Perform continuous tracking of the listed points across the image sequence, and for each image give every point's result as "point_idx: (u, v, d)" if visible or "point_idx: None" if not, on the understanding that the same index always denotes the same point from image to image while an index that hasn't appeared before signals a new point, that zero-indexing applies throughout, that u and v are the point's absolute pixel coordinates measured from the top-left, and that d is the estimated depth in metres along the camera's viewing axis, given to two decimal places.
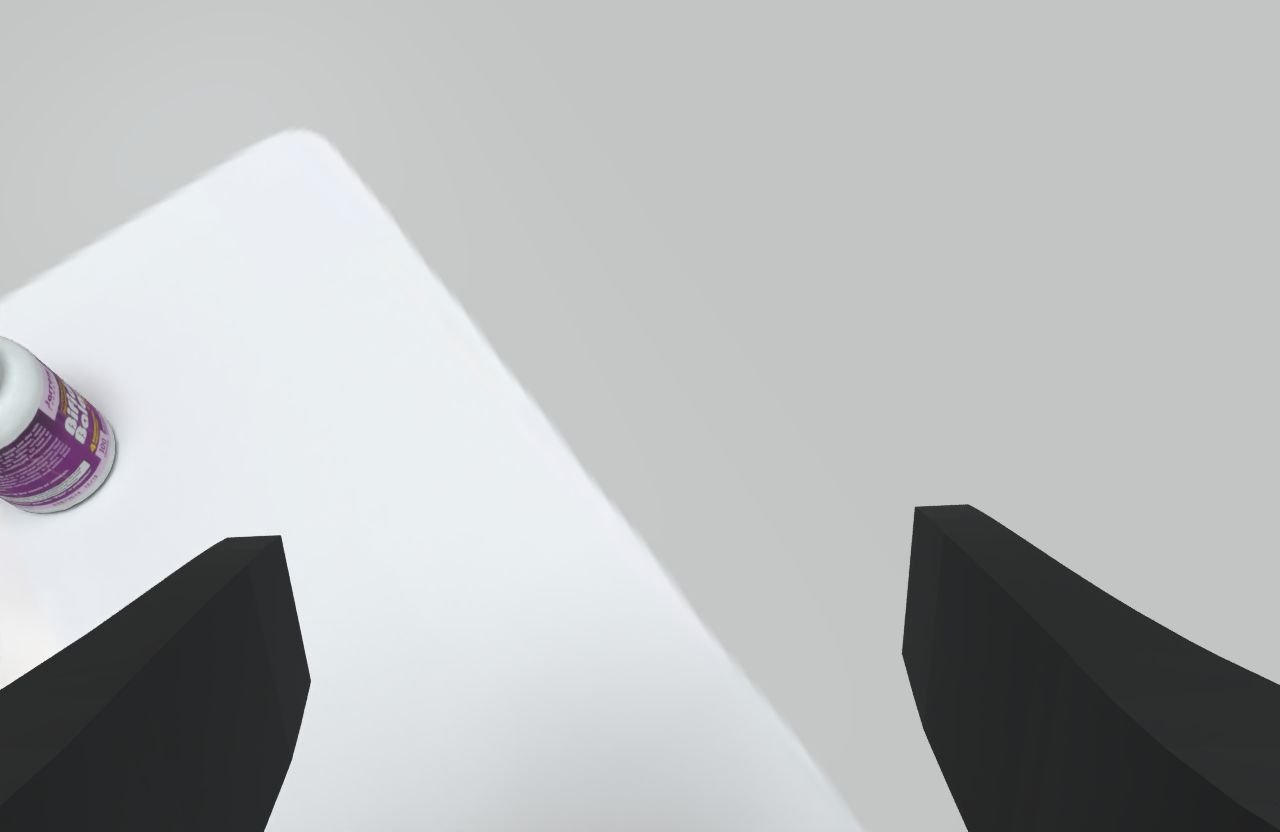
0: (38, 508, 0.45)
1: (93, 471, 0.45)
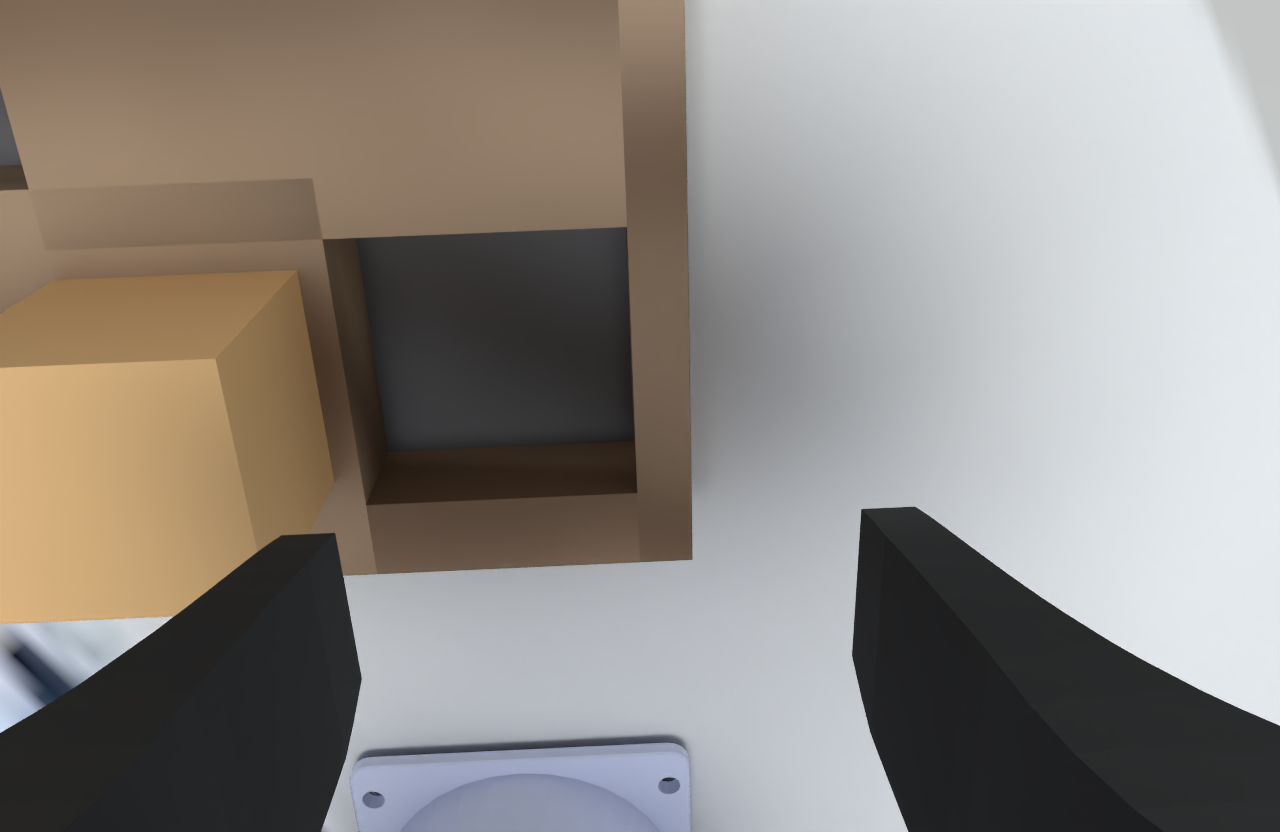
0: None
1: None
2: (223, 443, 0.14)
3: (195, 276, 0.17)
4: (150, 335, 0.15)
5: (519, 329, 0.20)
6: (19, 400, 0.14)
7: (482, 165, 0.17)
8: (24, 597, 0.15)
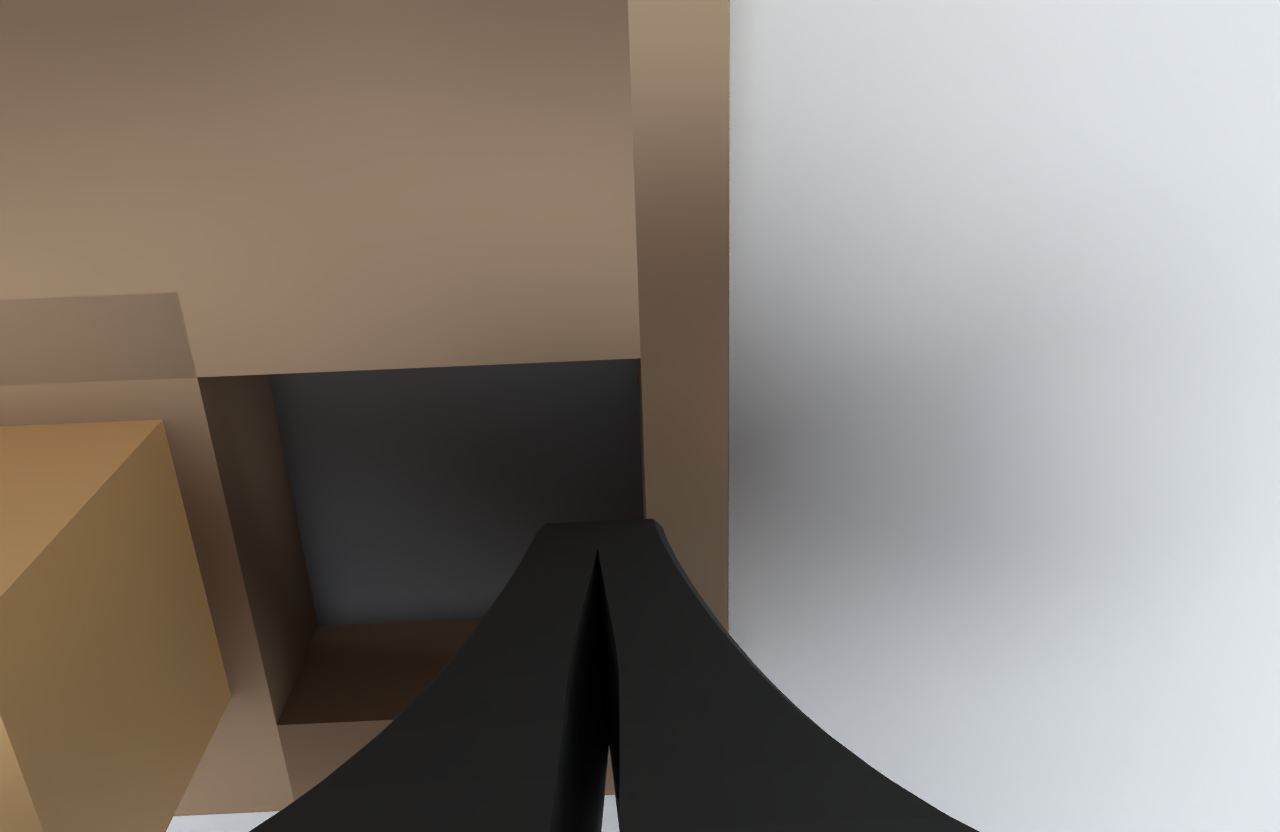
0: None
1: None
2: None
3: (12, 431, 0.12)
4: None
5: (491, 471, 0.15)
6: None
7: (428, 273, 0.11)
8: None
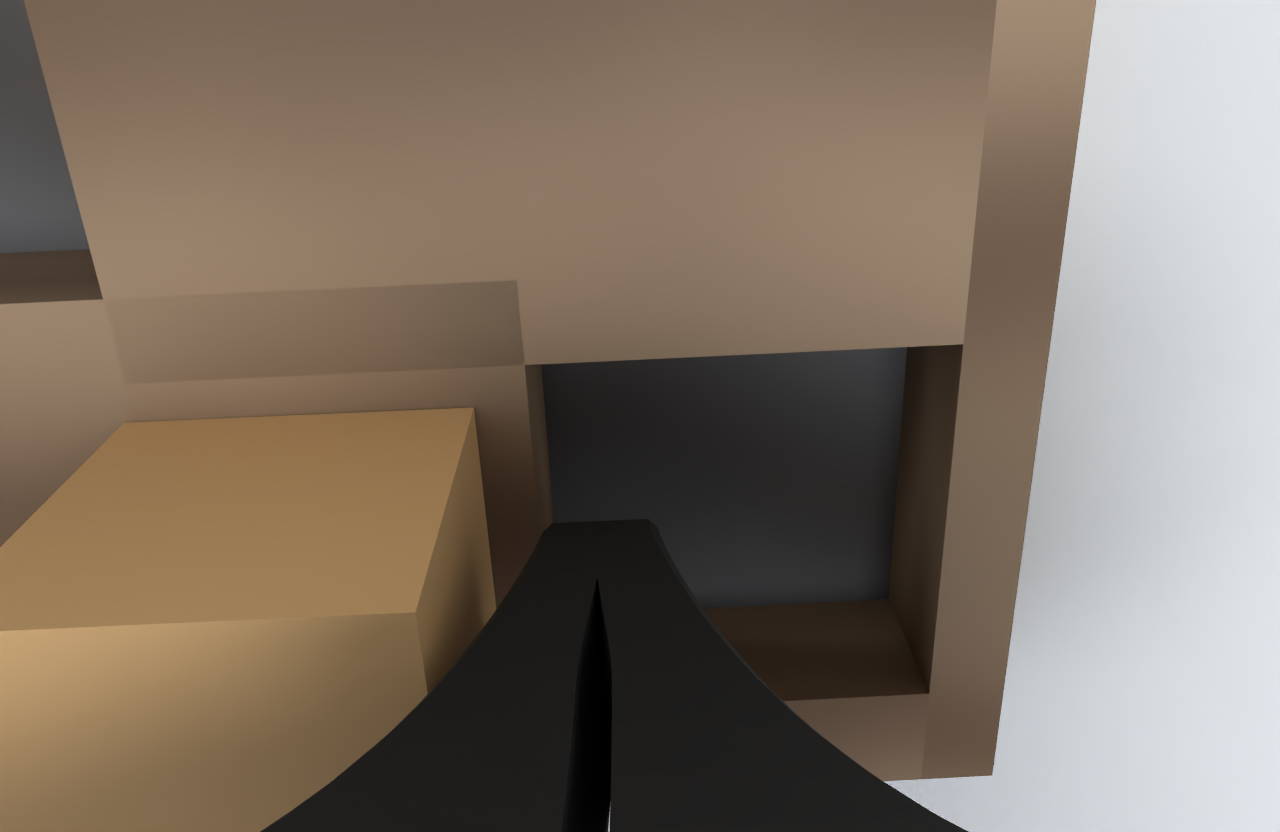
0: None
1: None
2: None
3: (329, 418, 0.12)
4: (294, 549, 0.09)
5: (750, 460, 0.15)
6: (95, 674, 0.09)
7: (766, 260, 0.11)
8: None
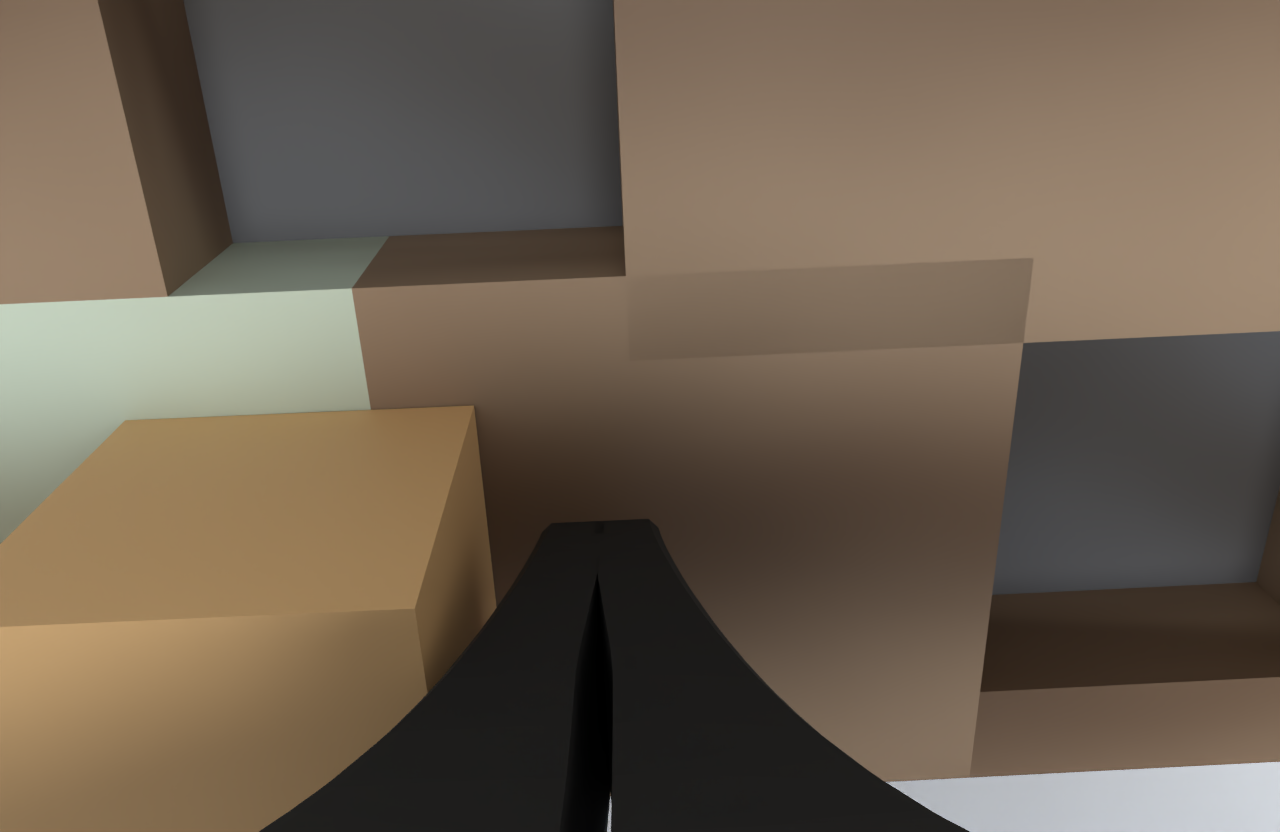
0: None
1: None
2: None
3: (329, 416, 0.12)
4: (295, 546, 0.09)
5: (1145, 442, 0.15)
6: (94, 671, 0.09)
7: None
8: None
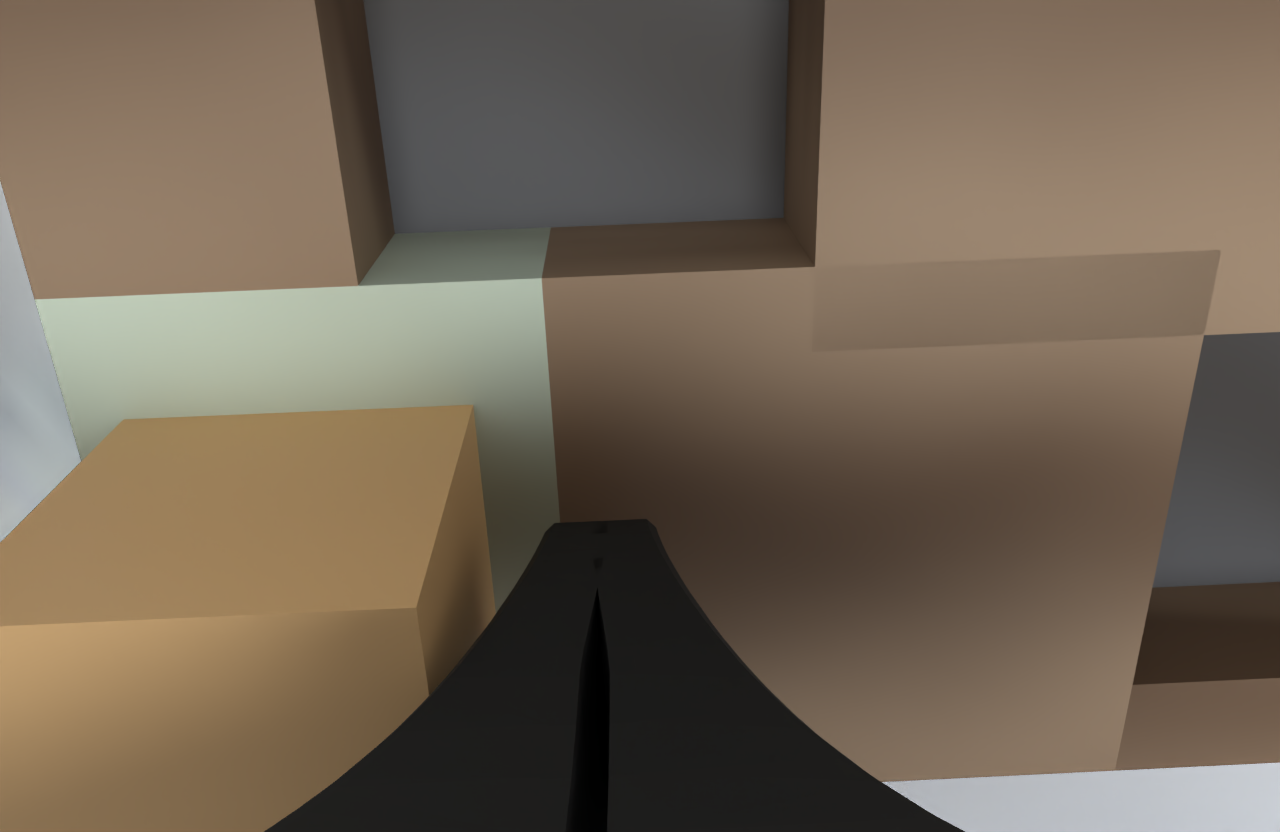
0: None
1: None
2: None
3: (329, 416, 0.12)
4: (295, 546, 0.09)
5: None
6: (95, 670, 0.09)
7: None
8: None
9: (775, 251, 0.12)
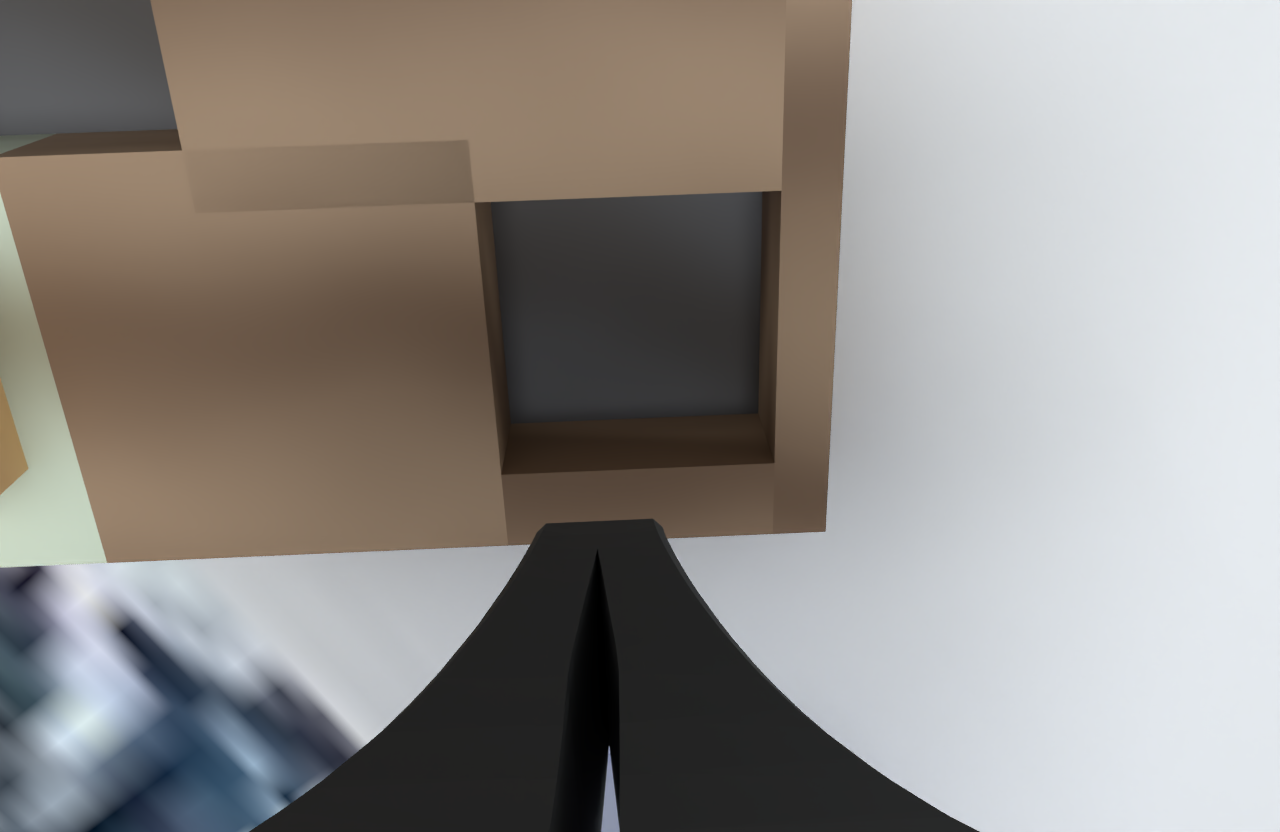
0: None
1: None
2: None
3: None
4: None
5: (649, 299, 0.20)
6: None
7: (640, 127, 0.17)
8: None
9: (176, 143, 0.17)
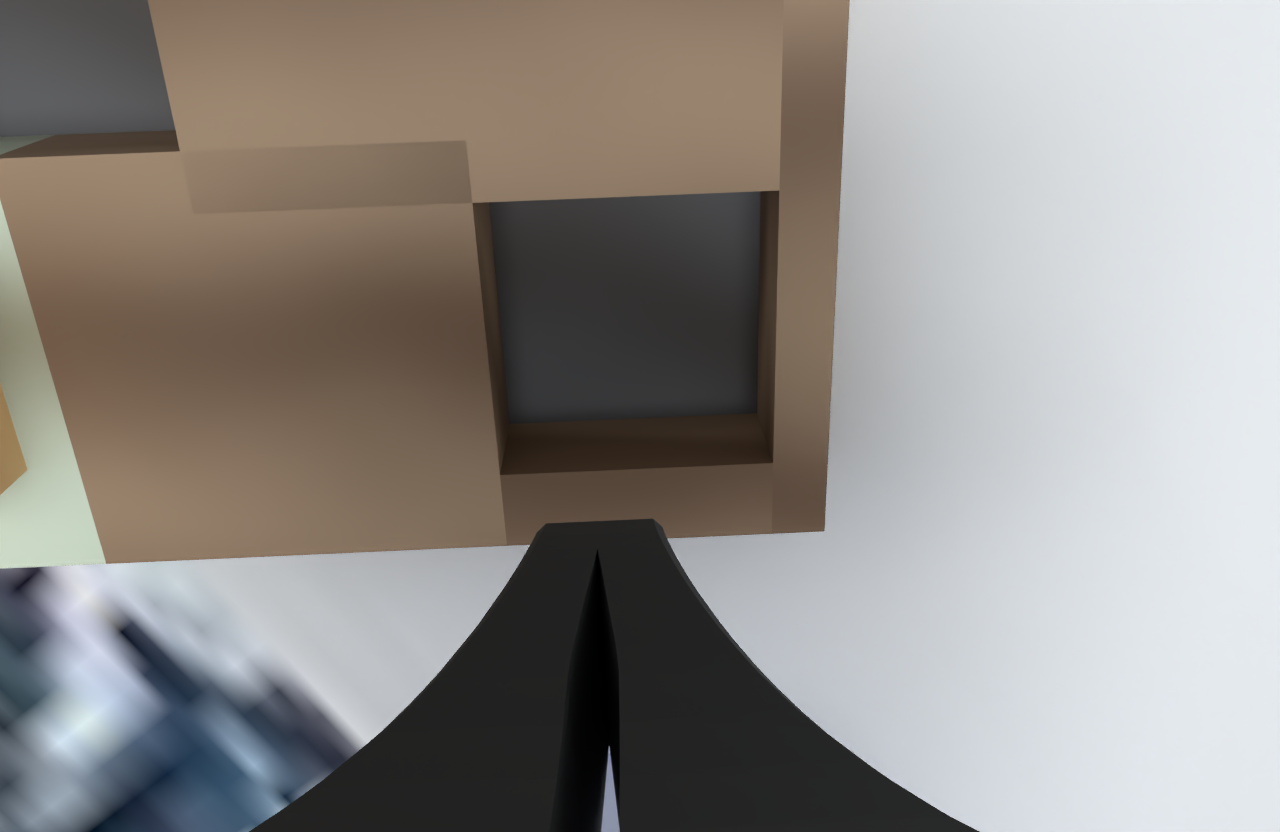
0: None
1: None
2: None
3: None
4: None
5: (648, 299, 0.20)
6: None
7: (638, 127, 0.17)
8: None
9: (174, 144, 0.17)
